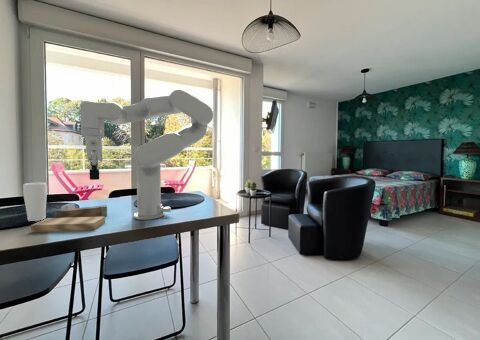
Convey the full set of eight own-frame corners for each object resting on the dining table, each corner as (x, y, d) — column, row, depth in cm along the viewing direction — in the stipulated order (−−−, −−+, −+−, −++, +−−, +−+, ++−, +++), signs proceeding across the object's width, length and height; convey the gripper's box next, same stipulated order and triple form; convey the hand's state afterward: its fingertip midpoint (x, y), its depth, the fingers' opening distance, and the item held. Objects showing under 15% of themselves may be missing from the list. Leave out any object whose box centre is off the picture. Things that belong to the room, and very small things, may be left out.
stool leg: (54, 222, 82) (53, 211, 82) (55, 220, 85) (54, 209, 84) (107, 215, 92) (106, 205, 92) (106, 213, 95) (106, 204, 94)
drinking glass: (33, 223, 82) (31, 185, 80) (20, 221, 83) (17, 184, 82) (52, 218, 88) (50, 182, 87) (39, 216, 90) (37, 181, 88)
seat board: (106, 221, 85) (106, 215, 85) (94, 229, 76) (94, 223, 76) (50, 223, 82) (49, 217, 82) (31, 232, 73) (30, 225, 73)
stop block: (75, 211, 98) (74, 203, 97) (68, 215, 93) (67, 206, 93) (69, 212, 97) (68, 203, 97) (62, 215, 92) (61, 206, 92)
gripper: (105, 133, 80) (106, 181, 81) (103, 135, 92) (104, 177, 94) (80, 131, 76) (82, 182, 77) (82, 134, 88) (83, 177, 89)
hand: (94, 179), depth 85 cm, fingers closed
